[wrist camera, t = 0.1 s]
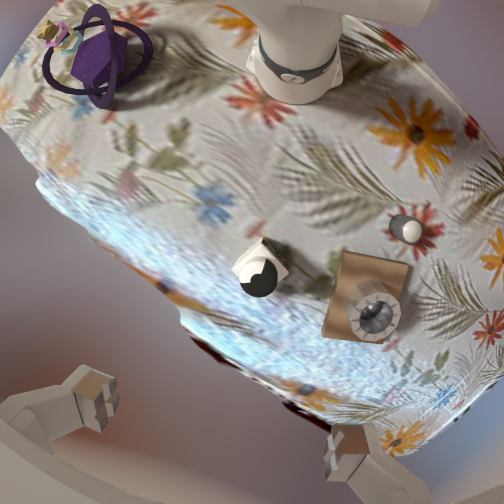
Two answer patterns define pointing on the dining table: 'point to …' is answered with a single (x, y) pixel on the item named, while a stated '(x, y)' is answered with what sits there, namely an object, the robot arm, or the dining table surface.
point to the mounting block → (354, 272)
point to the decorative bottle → (94, 55)
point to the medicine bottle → (260, 269)
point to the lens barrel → (371, 310)
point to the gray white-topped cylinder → (406, 229)
